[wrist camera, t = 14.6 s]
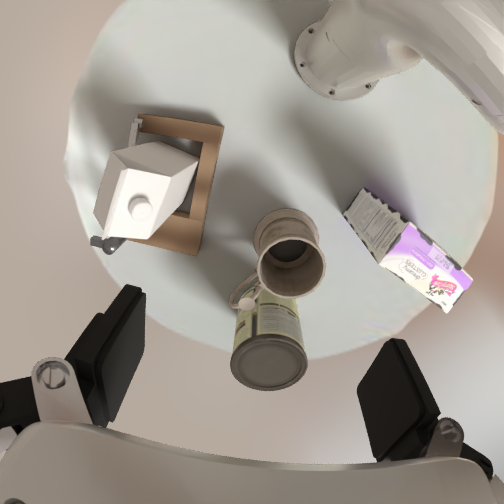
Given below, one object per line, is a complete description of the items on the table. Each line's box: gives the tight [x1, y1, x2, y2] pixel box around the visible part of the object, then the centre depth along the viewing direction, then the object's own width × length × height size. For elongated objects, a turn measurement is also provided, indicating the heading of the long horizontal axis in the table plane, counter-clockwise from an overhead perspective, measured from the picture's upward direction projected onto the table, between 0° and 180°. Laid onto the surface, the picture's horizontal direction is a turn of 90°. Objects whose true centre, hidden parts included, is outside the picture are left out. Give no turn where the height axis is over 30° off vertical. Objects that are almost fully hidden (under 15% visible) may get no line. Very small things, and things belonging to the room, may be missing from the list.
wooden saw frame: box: [127, 114, 224, 256], centre depth 41 cm, size 19×12×2 cm, turn 167°
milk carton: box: [93, 141, 200, 240], centre depth 33 cm, size 7×7×19 cm
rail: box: [128, 118, 145, 147], centre depth 40 cm, size 16×1×4 cm, turn 167°
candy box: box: [343, 187, 473, 313], centre depth 37 cm, size 14×6×16 cm, turn 59°
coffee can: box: [230, 286, 308, 391], centre depth 44 cm, size 10×10×14 cm
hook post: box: [90, 236, 128, 255], centre depth 39 cm, size 2×4×8 cm, turn 77°
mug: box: [229, 209, 326, 311], centre depth 41 cm, size 14×10×12 cm
